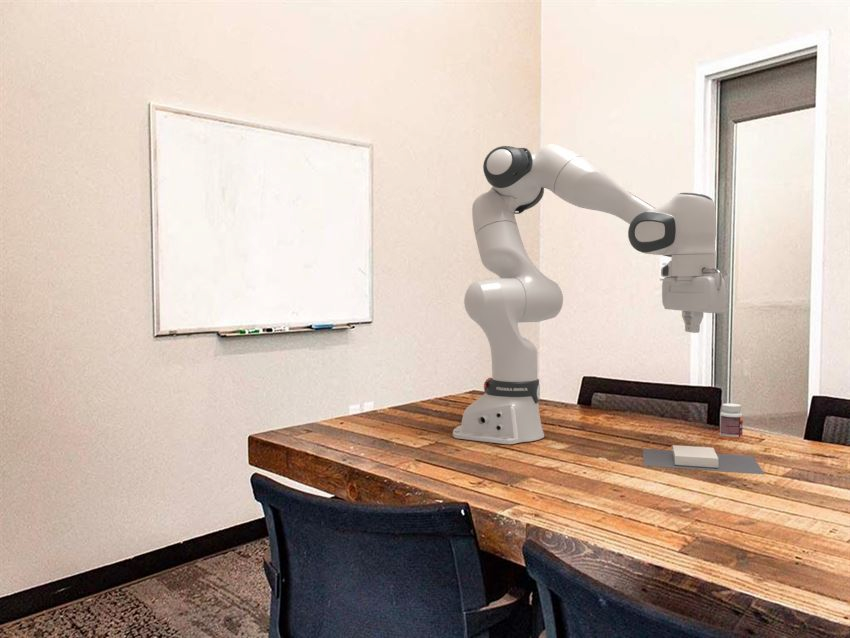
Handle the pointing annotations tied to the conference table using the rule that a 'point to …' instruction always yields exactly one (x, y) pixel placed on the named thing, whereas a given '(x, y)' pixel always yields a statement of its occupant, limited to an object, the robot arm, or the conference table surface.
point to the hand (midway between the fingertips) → (692, 332)
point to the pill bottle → (731, 421)
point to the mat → (724, 464)
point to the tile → (695, 456)
